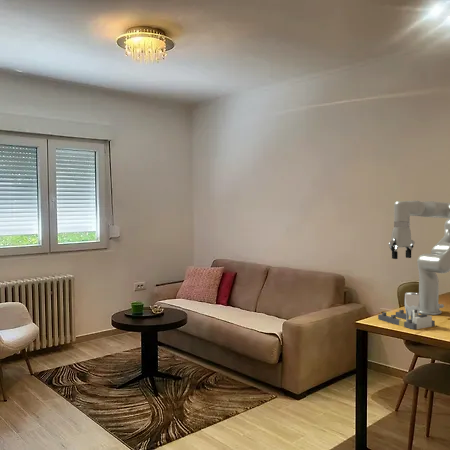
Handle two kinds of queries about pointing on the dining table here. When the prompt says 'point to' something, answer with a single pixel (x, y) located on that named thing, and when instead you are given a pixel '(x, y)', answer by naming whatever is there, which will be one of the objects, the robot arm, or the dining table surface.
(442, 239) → the robot arm
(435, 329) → the dining table surface
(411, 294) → the beer glass
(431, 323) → the cable comb
